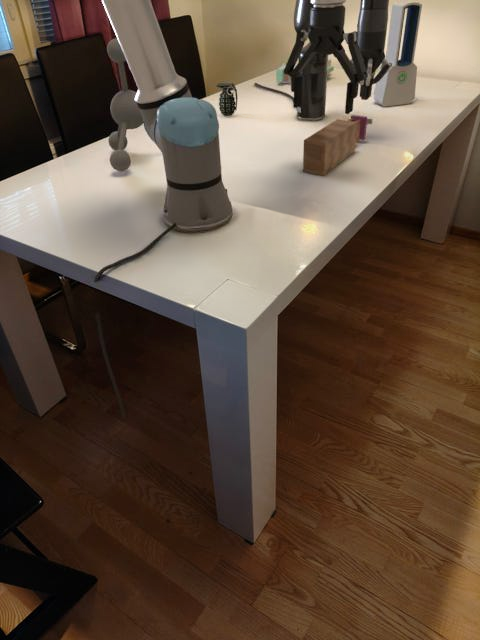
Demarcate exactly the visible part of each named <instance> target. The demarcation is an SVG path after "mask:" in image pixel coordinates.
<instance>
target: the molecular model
mask: <svg viewBox="0 0 480 640" xmlns="http://www.w3.org/2000/svg"><path fill="white" fill-rule="evenodd" d="M106 52H107V55H108V57H109V59H110V60H111V61H112V62H114V63H115V64H117V68H118V73H119V79H120V85H121V89H122V90H120V91H118V92H117V93H116V94H115V95H114V96H113V97H112V99H111V102H110V115H111V117H112V119H113V120H114V122H115V123H116V124H117V125H118V127H117V131H113V132H111V133H110V134H109V136H108V138H107V139H108V145H109V147H110V148H111V149H112V150H113V152H111V154H110V156H109V163H110V166H111V167H112V169H114V170H115V171H117V172H126V171H128V169H129V168H130V167H131V164H132V158H131V156H130V154H129V153H128V152H127V151H126V148H127V147H128V137H127V130H134V129H138V128H140V127H141V126H143V125H144V122H143V117H142V115H141V113H140V110H139V108H138V105H137V103H136V101H135V97H136V94H137V91H134V90H132V89H129V86H128V81H127V73H126V69H125V62H127V60H126V58H125V55H124V53H123V51H122V48H121V46H120V43H119V41H118V38H117V37H115V38H112V39H111V40H109V42H108V44H107V46H106Z"/></svg>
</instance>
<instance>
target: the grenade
mask: <svg viewBox="0 0 480 640" xmlns="http://www.w3.org/2000/svg"><path fill="white" fill-rule="evenodd" d="M215 87H217V88H219V89H221V93H219V97H218V101H219V102H218V106H219V108H218V109H219V112H220V114H221V115H222V116H224V117H231V116H233V115H234V113H235V112H236V111H237V108H238V89H237V87H236V85H235V84H234V83H233V82H218V83H217V84H216V86H215ZM232 91H233V92H232ZM234 94H235V96H234Z"/></svg>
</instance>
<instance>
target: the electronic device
mask: <svg viewBox="0 0 480 640" xmlns="http://www.w3.org/2000/svg"><path fill="white" fill-rule="evenodd" d="M422 8H423V4H421V2H420V3H419V2H416V1H408V0H399V1H396V2H394V3H392V4H391V11H390V17H389V18H390V19H389V25H388V26H389V28H388V35H387V43H386V50H385V51H386V52H385V59H386V61H387V62H388V63H392V67H391V68H390V69H389V70H388V71H387V73H386V74H385V75H384V76H383V77H382V78H381V80H380V81H379V82H377V83H375V84H374V89H373V100H374V101H375V103H376V104H378V105H381V106H383V107H384V108H385V107H393V106H400V105H408V104H412V103H413V102H414V100H415V99H416V88H417V86H416V85H417V75H418V74H417V72H418V66H417V65H416V63H414V60H415V55H416V48H417V42H418V33H419V28H420V21H421V16H422V15H421V14H422ZM405 14H406V17H405ZM404 20H405V24H404ZM403 28H404V29H403ZM403 31H404V32H403ZM402 36H403V38H402ZM401 43H402V46H401ZM400 51H401V52H400ZM399 57H400V59H399ZM381 66H382V64H381V65H380V66H379V68H378V69H379V70H378V73H379V72H380V71H381V70H382V69H381Z"/></svg>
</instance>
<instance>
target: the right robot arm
mask: <svg viewBox="0 0 480 640" xmlns="http://www.w3.org/2000/svg"><path fill="white" fill-rule="evenodd" d="M389 6H390V0H360V5H359V14H358V18H357V25H356V32H357V33H358V45H359V49H360V52H361V55H362V58H363V61H364V64H365V67H366V71H367V74H368V77H367V78H366V79H364V80H363V81H360V82H359V85H360V87H359V98H360V99H361V101H362V100H363V101H367V100H369V99H370V98H371V96H372V91H373V85H376V83H377V82H379V81H380V80H381V78H382V77H383V76H384V75H385V74H386V73H387V71H388V70H389V69H390V68H391V67H392V63H388V62H387V61H386V52H385V47H386V39H387V30H388V23H389V22H388V21H389ZM311 7H313V4H311V3H310V0H295V5H294V10H293V12H294V13H293V26H294V31H295V33H296V34H297V32H298V31H300V30H303V29H305V30H306V31H308V32H309V31H310V9H311ZM310 45H311V43H310V41H309V42H308V43H307V44H306V45H304V46H303V48H302V51H301V53H300V55H299V58H298V60H299V61H300V60H301V59H302V57H303V56H304V55H305V53H306V51H307V50H308V48H309V47H310ZM328 59H329V55H326V54H317V53H315V54H314V56H313V57H312V58H311V60H310V61H309V62H308V64H307V65H306V66H305V68H304V69H303V70H302V72H301V73H300V75H299V76H301V77H302V104H301V106H299V107H297V108H295V109H296V118H297V119H298V120H301V121H306V122H312V121H320V120H323V119H324V118H326V105H327V104H326V103H327V89H328V88H327V85H328V76H327V69H328ZM349 60H350V61H351V63H352V65H353V66H354V63H353V60H352V58H351V59H349ZM298 63H299V62H298ZM381 65H382V66H381ZM380 66H381V69H382V70H381V71H380V72H379V71H378V73H377V74H376V72H377V70H378V69H379V68H380ZM354 68H355V66H354ZM355 70H356V69H355ZM299 76H298V77H299ZM253 85H254V86H256V87H258V88H260V89H263V90H267V91H268V92H272V93H276V94H280V95H282V96H285V97H286V98H287V97H288V98H289V99H290V100H291V101H292V103H293V104H294V96H292V95H291V94H289V93H287V92H285V91H281V90H279V89H276V88H271V87H268V86H265V85H261V84H259V83H257V82H254V83H253Z"/></svg>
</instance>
